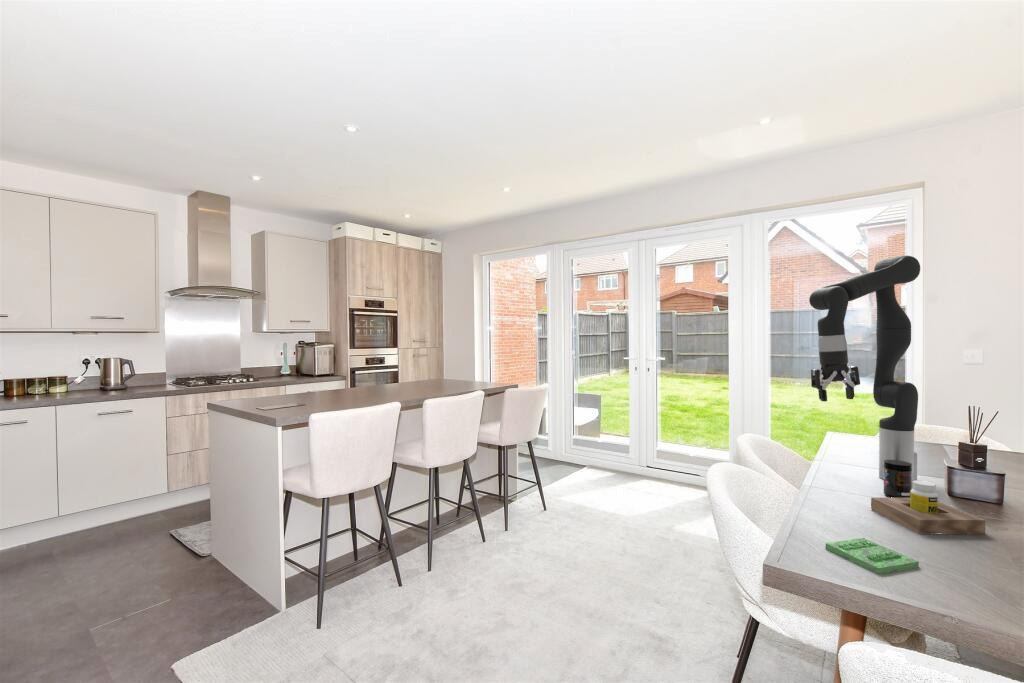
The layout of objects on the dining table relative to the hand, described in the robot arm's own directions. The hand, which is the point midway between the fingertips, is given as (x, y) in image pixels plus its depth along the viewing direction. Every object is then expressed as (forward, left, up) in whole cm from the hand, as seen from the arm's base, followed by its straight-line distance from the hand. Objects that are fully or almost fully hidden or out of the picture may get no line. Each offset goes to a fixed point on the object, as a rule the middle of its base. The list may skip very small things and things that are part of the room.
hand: (837, 400), depth 151 cm
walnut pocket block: (-5, +27, -28) cm, 39 cm away
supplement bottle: (-5, +27, -28) cm, 39 cm away
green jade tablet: (+24, +47, -29) cm, 60 cm away
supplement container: (-13, +8, -29) cm, 32 cm away
